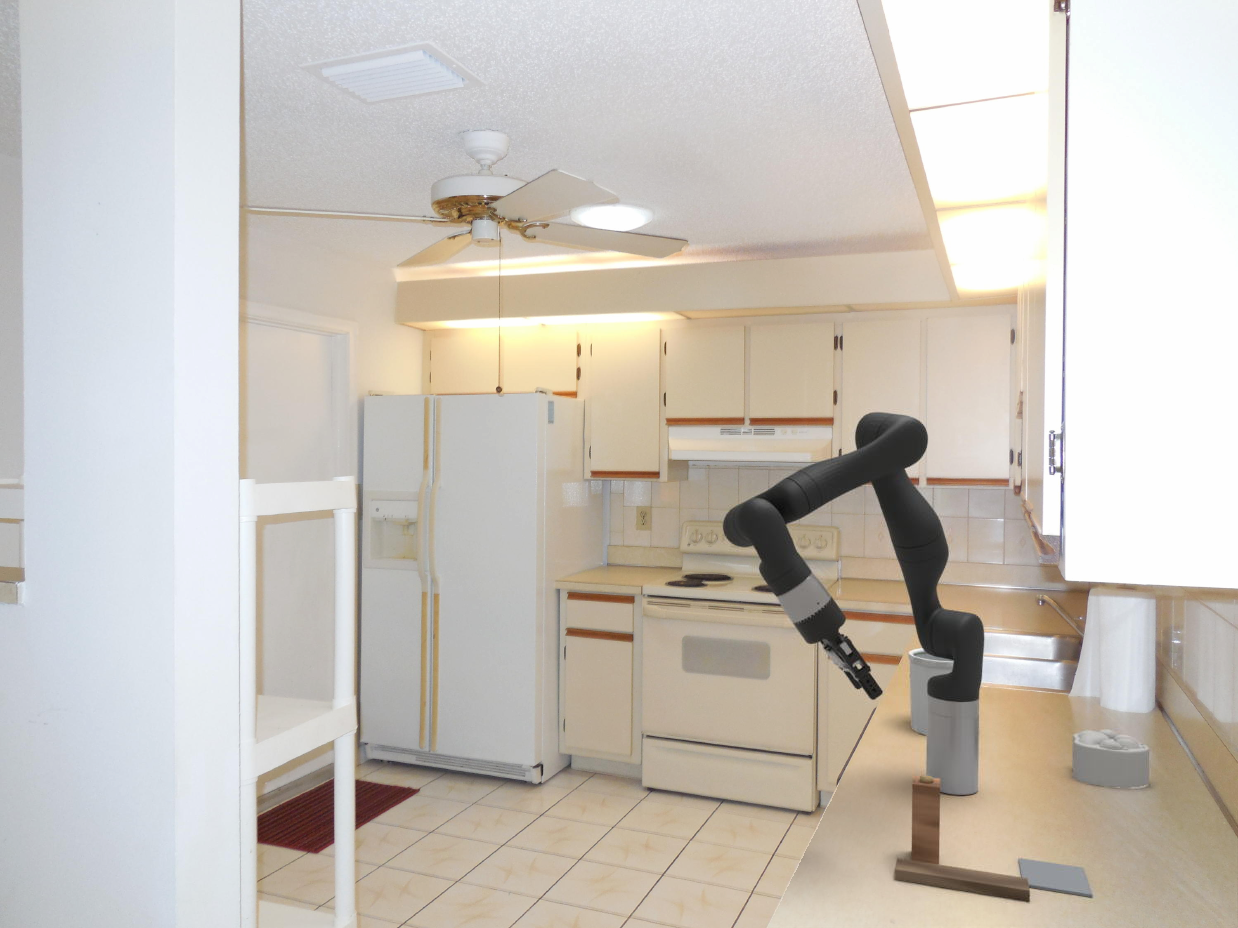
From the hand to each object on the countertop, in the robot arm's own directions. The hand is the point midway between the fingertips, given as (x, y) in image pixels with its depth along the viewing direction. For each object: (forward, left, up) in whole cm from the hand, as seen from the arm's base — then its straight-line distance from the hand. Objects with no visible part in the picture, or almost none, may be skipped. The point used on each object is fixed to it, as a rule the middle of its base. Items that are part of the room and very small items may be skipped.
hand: (869, 691), depth 143 cm
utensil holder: (-70, +11, -25) cm, 75 cm away
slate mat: (+1, +27, -25) cm, 36 cm away
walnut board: (+8, +14, -25) cm, 29 cm away
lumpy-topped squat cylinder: (-49, +42, -25) cm, 69 cm away
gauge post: (+1, +9, -25) cm, 26 cm away
